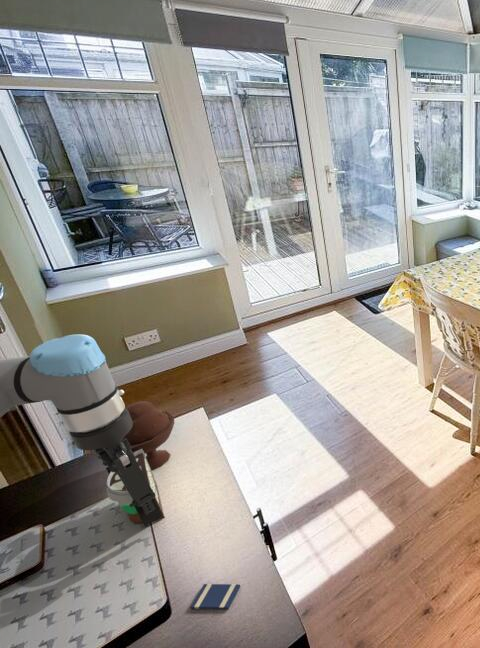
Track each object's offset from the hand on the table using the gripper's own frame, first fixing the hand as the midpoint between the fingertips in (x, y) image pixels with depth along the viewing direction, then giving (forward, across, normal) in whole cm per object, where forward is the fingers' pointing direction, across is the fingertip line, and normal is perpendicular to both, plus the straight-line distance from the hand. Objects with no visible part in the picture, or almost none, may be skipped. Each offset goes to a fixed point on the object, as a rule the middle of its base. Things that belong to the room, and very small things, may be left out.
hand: (139, 503), depth 80 cm
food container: (+3, +1, 0) cm, 3 cm away
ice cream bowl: (+3, +13, -6) cm, 14 cm away
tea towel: (+3, -27, 0) cm, 28 cm away
